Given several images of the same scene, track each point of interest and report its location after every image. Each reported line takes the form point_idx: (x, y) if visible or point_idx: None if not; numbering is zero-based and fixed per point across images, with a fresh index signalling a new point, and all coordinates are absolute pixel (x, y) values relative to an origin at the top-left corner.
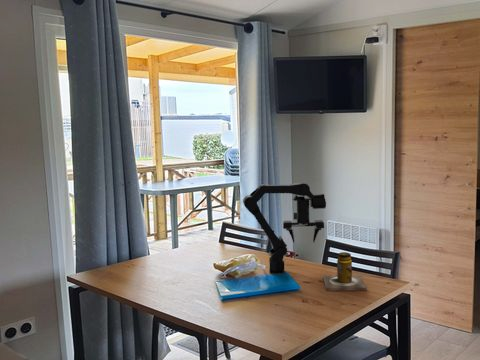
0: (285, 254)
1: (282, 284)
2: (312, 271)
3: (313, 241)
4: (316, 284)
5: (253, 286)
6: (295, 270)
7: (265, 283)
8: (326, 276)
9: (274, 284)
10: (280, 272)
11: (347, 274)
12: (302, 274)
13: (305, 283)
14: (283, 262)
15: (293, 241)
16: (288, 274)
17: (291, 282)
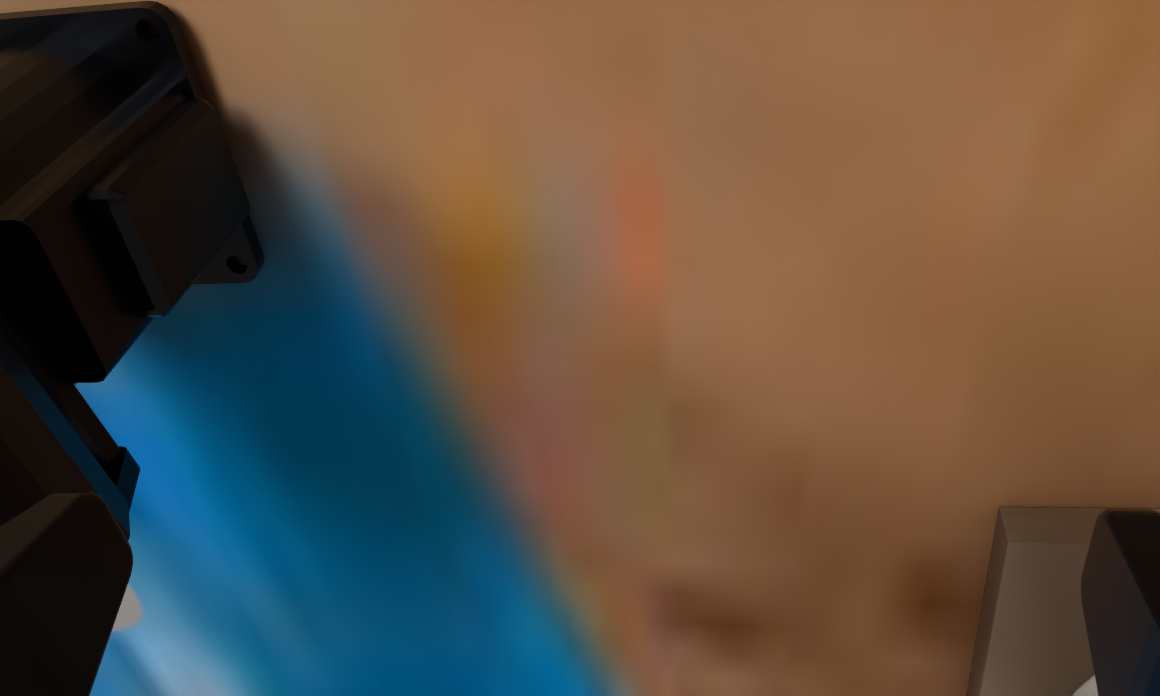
0: (124, 500)
1: (400, 667)
2: (857, 148)
3: (1098, 668)
4: (848, 692)
5: (98, 692)
6: (468, 90)
7: (184, 632)
8: (1064, 581)
9: (304, 662)
10: (214, 277)
11: None
12: (638, 329)
13: (696, 658)
14: (161, 311)
15: (78, 634)
16: (382, 329)
17: (501, 622)
